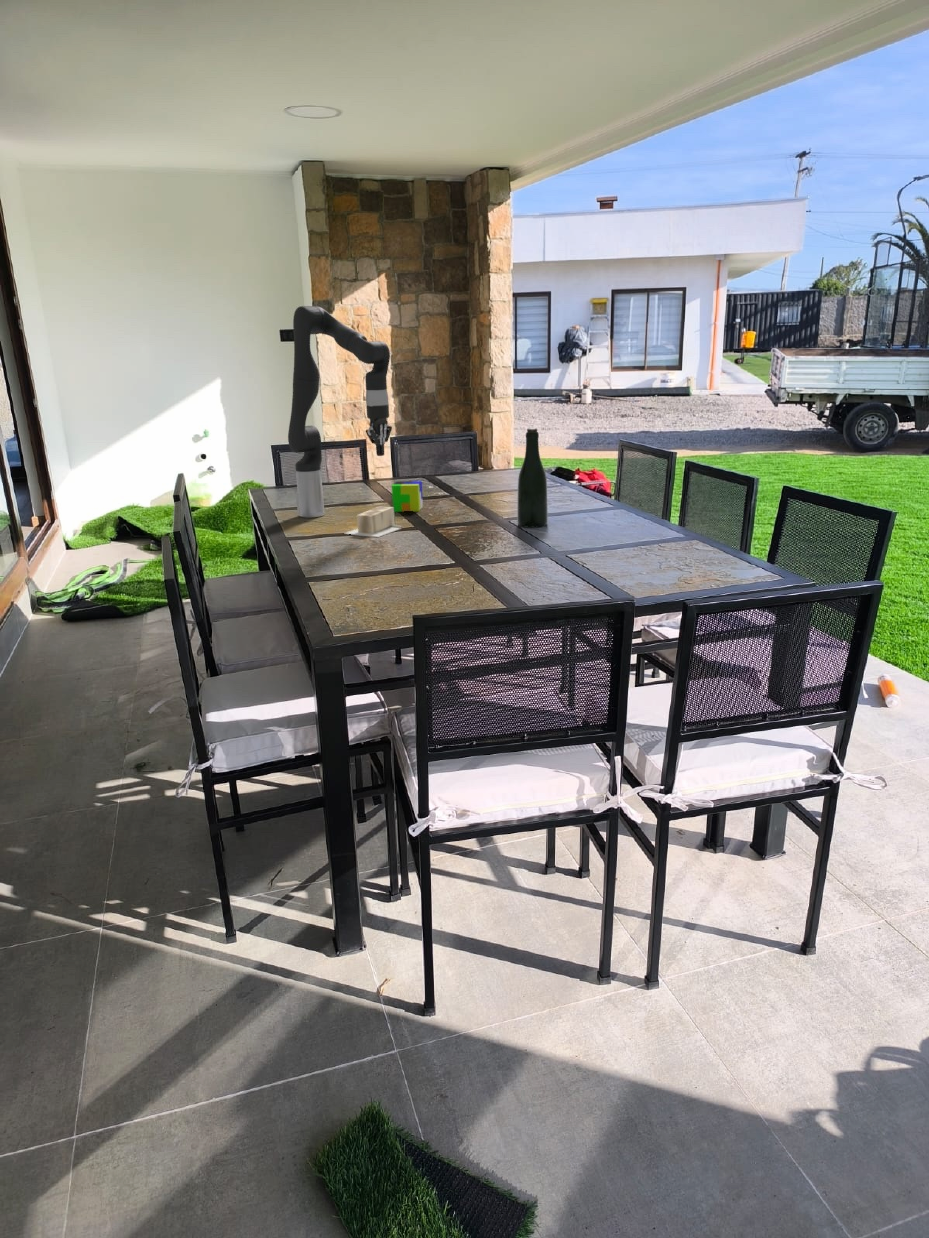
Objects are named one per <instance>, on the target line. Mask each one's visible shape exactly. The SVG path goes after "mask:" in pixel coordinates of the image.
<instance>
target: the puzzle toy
mask: <svg viewBox="0 0 929 1238" xmlns="http://www.w3.org/2000/svg"><path fill="white" fill-rule="evenodd" d="M422 483H423V482H422V480H413V481H411V480H410V481H407V480H406V481H404V480H403V481H399V480H398V481H395V482H394V483H393V484H392V485H391V493H392V494H391V497H392V507H394V512H397V513H398V512H403V513H404V511H413V512H420V511H419V510H420V509H422V508H423V507H424V504H423V503H424V501H423V484H422Z"/></svg>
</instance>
